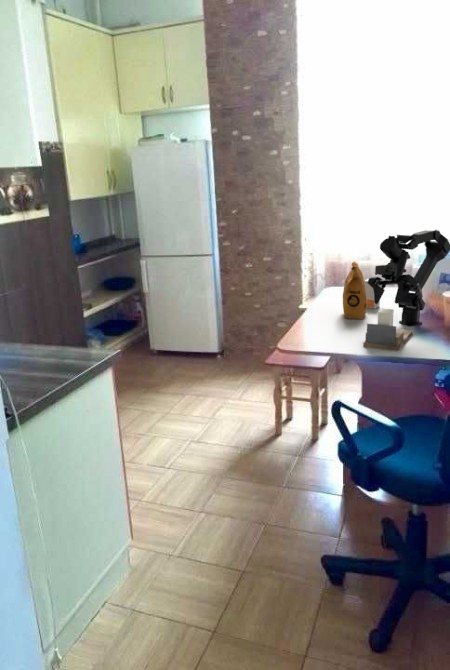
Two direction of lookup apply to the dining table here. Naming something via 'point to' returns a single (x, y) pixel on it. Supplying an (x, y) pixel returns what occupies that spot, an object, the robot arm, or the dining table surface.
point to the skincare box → (370, 296)
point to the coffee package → (354, 294)
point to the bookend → (381, 334)
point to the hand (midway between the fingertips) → (385, 303)
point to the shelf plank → (395, 348)
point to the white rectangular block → (385, 317)
